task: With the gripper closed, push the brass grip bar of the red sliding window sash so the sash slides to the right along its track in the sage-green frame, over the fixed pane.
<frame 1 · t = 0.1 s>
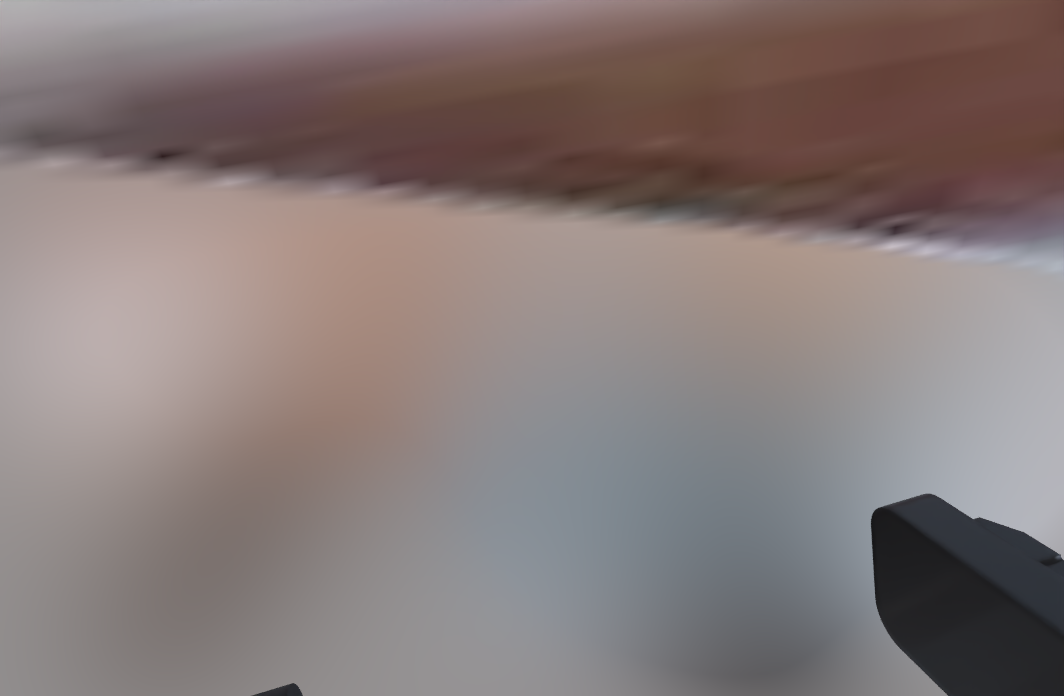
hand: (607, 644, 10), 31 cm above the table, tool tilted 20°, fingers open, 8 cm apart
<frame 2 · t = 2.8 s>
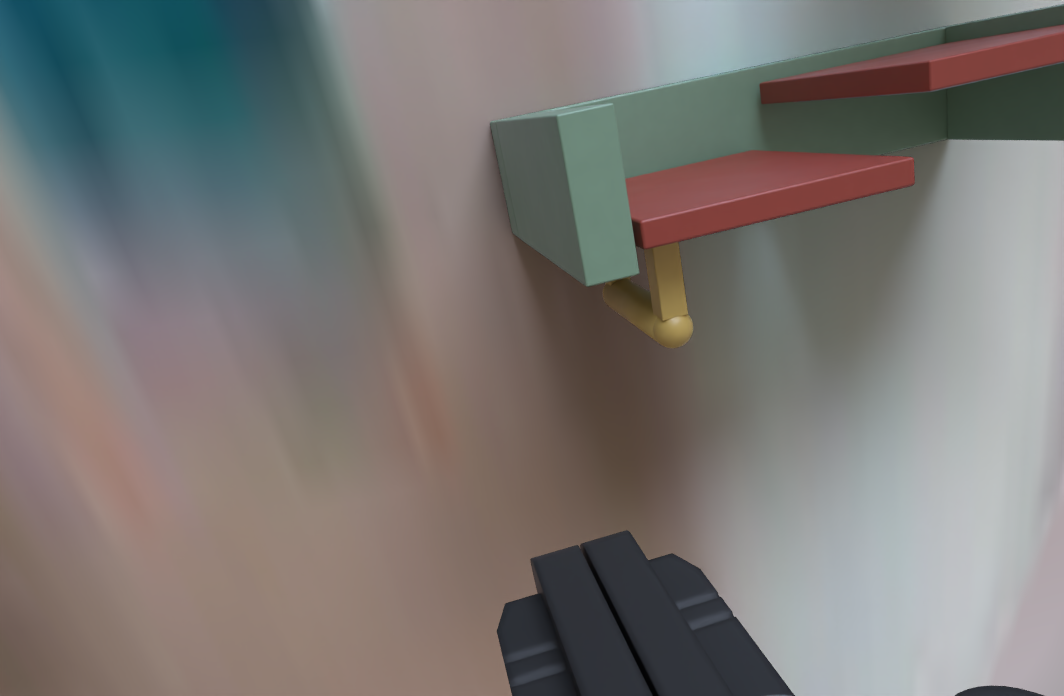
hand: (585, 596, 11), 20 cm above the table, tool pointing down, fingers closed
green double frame: (736, 127, 30), on the table
window: (715, 241, 25), point 6 cm above the table, slide at 0.0 cm
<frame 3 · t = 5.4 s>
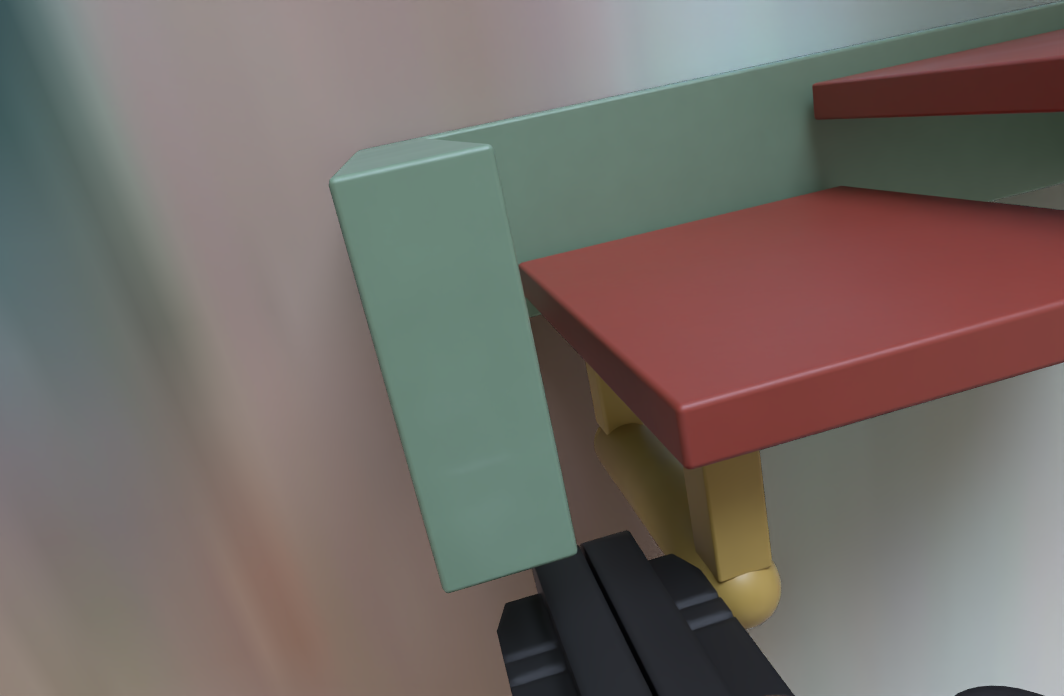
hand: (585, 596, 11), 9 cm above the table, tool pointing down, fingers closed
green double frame: (769, 155, 19), on the table
window: (801, 366, 13), point 6 cm above the table, slide at 1.1 cm, touching gripper
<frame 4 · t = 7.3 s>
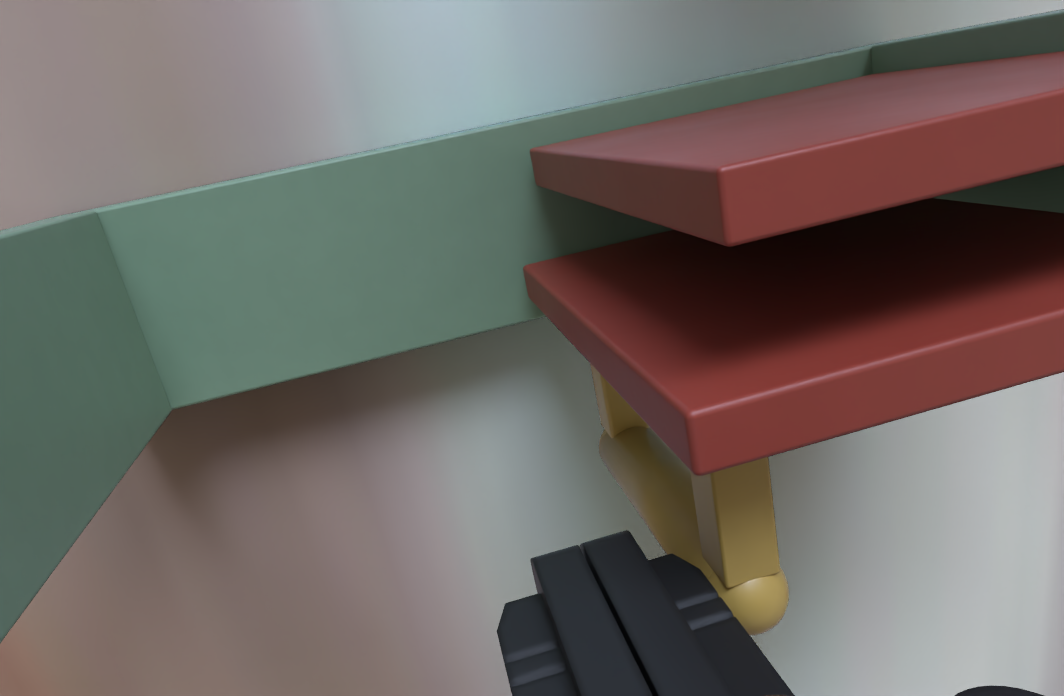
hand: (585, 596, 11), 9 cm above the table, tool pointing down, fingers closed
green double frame: (518, 216, 18), on the table
window: (808, 370, 13), point 6 cm above the table, slide at 7.9 cm, touching gripper
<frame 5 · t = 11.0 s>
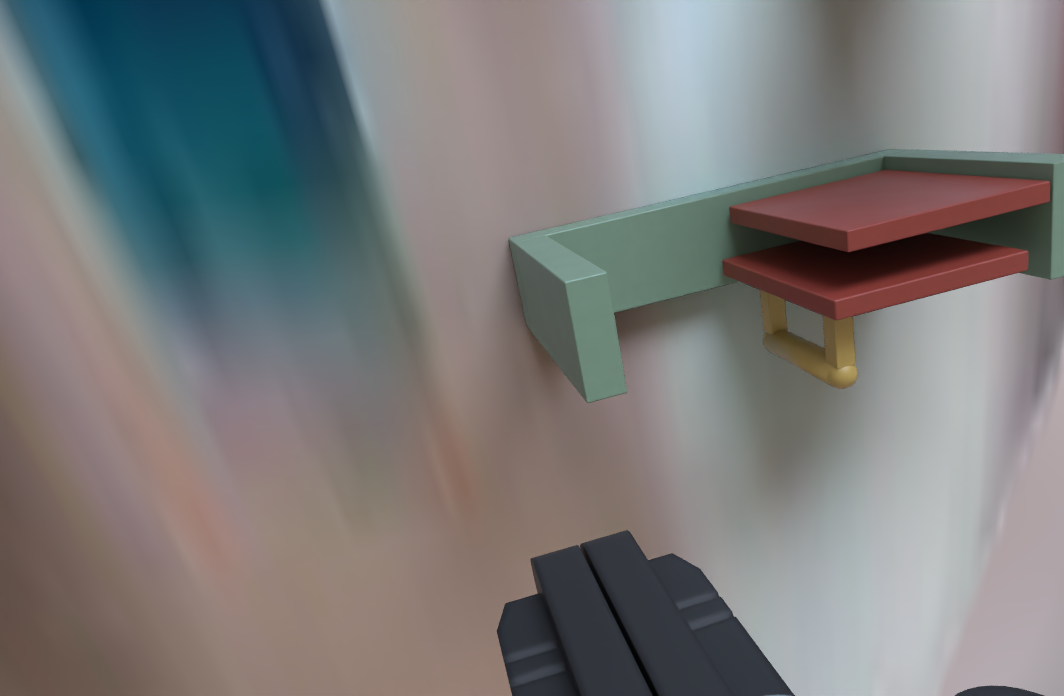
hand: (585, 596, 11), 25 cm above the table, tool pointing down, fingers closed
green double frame: (711, 235, 37), on the table
window: (859, 302, 32), point 6 cm above the table, slide at 7.9 cm
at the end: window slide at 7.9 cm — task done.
